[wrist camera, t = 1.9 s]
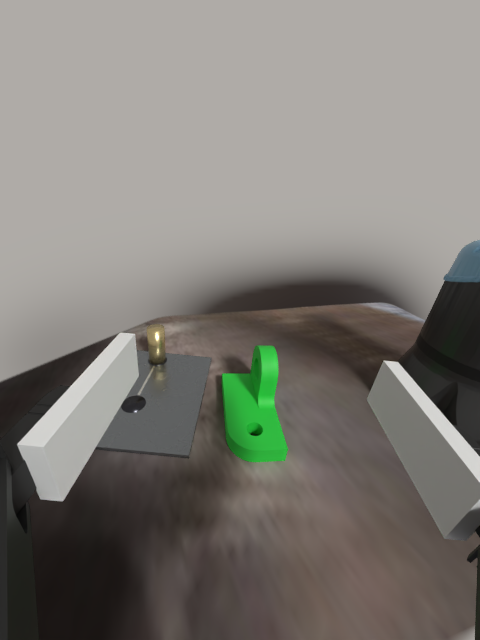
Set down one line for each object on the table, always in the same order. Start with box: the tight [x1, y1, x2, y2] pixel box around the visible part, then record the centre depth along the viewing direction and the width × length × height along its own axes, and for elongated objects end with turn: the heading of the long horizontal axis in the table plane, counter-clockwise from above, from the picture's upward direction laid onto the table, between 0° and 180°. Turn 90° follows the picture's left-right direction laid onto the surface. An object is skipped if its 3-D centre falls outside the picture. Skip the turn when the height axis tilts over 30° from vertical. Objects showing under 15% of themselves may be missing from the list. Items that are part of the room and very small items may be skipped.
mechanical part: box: [222, 346, 288, 462], centre depth 30 cm, size 12×6×8 cm, turn 7°
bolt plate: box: [95, 324, 211, 458], centre depth 32 cm, size 15×17×6 cm
